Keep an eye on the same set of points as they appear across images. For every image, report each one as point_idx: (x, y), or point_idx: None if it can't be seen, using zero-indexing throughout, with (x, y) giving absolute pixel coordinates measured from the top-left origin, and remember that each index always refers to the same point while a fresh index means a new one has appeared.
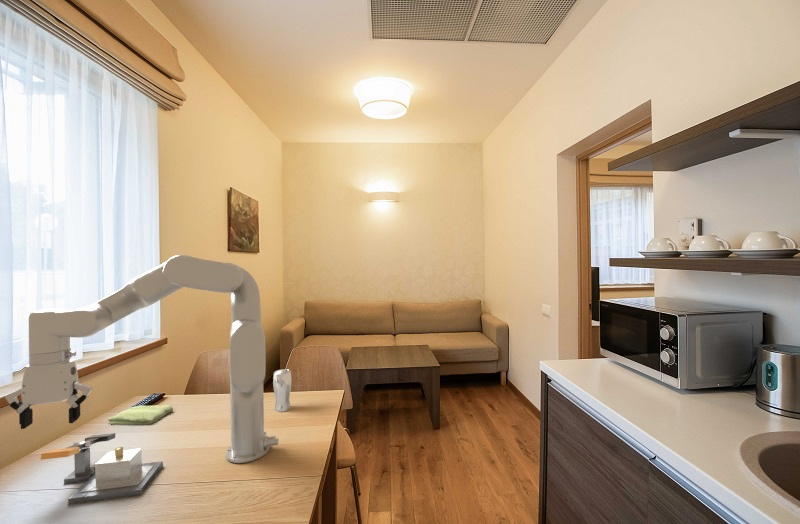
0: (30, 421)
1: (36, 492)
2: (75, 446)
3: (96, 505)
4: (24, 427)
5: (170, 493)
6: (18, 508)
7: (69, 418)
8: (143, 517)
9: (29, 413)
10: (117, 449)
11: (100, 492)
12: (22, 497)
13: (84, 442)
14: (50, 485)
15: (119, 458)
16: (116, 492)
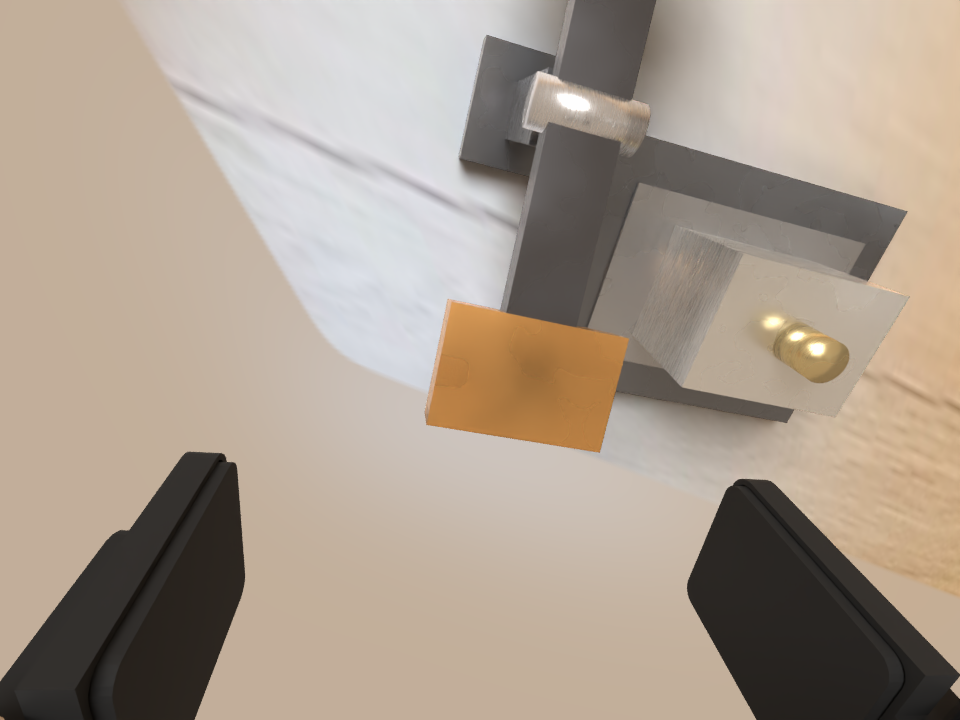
0: (223, 532)
1: (354, 187)
2: (581, 256)
3: (635, 410)
4: (238, 596)
5: (858, 437)
6: (345, 306)
7: (721, 644)
8: None
9: (157, 683)
10: (818, 374)
11: (653, 382)
12: (308, 209)
13: (610, 129)
14: (393, 139)
15: (792, 375)
16: (708, 406)
